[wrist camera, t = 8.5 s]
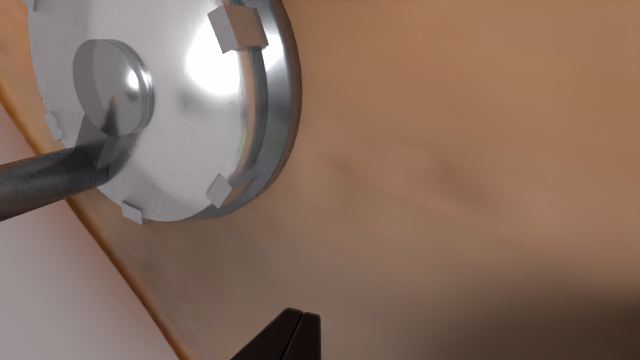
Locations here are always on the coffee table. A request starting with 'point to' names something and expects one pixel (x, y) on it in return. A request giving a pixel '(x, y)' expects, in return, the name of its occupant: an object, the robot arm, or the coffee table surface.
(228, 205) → the plate
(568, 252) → the coffee table surface
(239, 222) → the coffee table surface
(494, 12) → the coffee table surface
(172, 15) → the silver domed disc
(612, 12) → the coffee table surface
